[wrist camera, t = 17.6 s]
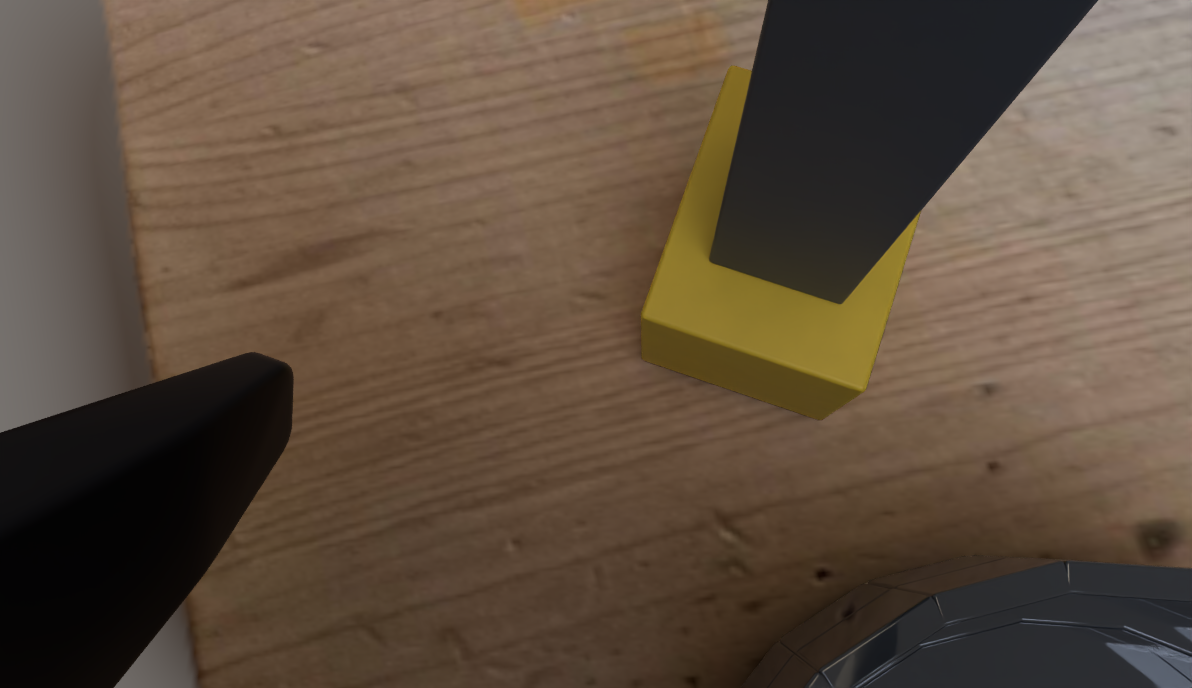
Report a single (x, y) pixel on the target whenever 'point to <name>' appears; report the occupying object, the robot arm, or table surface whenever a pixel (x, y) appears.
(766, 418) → the table surface
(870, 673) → the bowl
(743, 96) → the sponge wand
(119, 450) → the robot arm
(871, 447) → the table surface
